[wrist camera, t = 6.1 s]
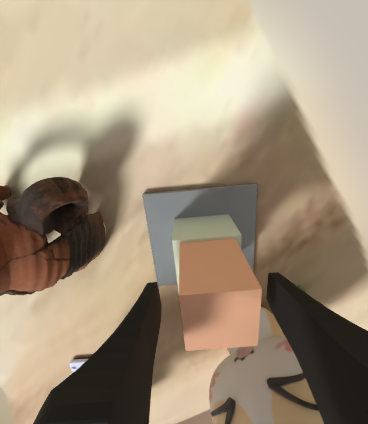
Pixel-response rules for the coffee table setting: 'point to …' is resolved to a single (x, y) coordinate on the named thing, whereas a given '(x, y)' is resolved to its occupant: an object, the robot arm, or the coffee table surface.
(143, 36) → the coffee table surface
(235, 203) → the plate
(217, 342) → the brick
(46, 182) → the brown ring with handle
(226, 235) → the brick
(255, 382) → the kitten
